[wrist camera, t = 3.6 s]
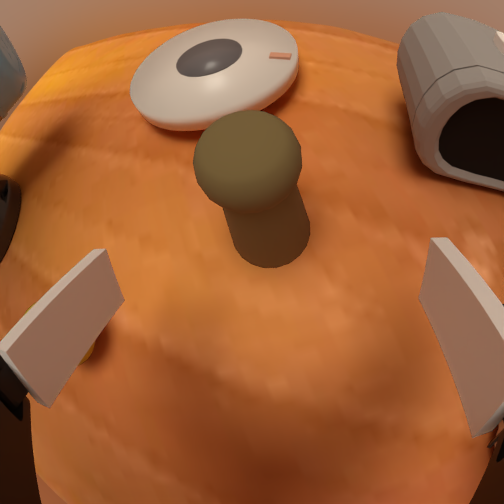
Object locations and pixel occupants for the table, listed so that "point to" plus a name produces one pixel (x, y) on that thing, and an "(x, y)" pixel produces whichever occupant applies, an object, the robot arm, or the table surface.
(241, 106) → the turntable
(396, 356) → the table surface
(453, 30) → the alarm clock
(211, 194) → the cork
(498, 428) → the canister
